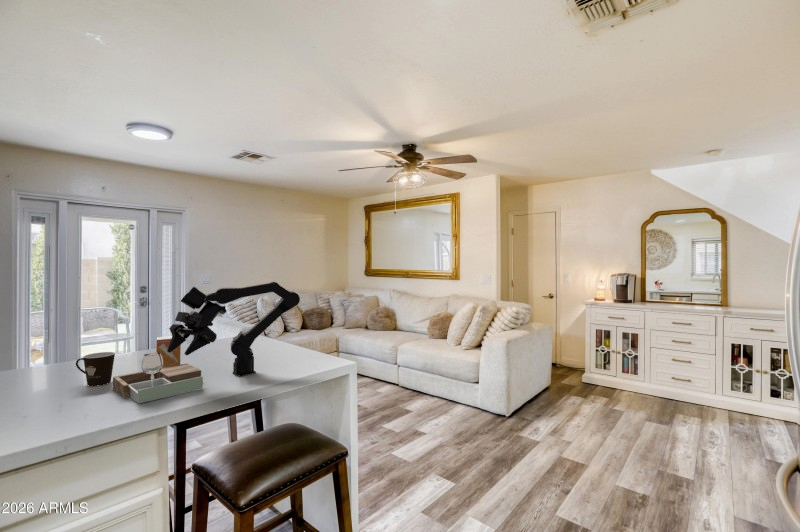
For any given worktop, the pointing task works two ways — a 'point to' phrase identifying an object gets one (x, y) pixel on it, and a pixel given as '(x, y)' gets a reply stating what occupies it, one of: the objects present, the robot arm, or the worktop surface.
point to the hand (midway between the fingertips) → (176, 353)
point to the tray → (162, 388)
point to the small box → (167, 357)
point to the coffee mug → (98, 367)
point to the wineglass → (152, 364)
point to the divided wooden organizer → (155, 377)
